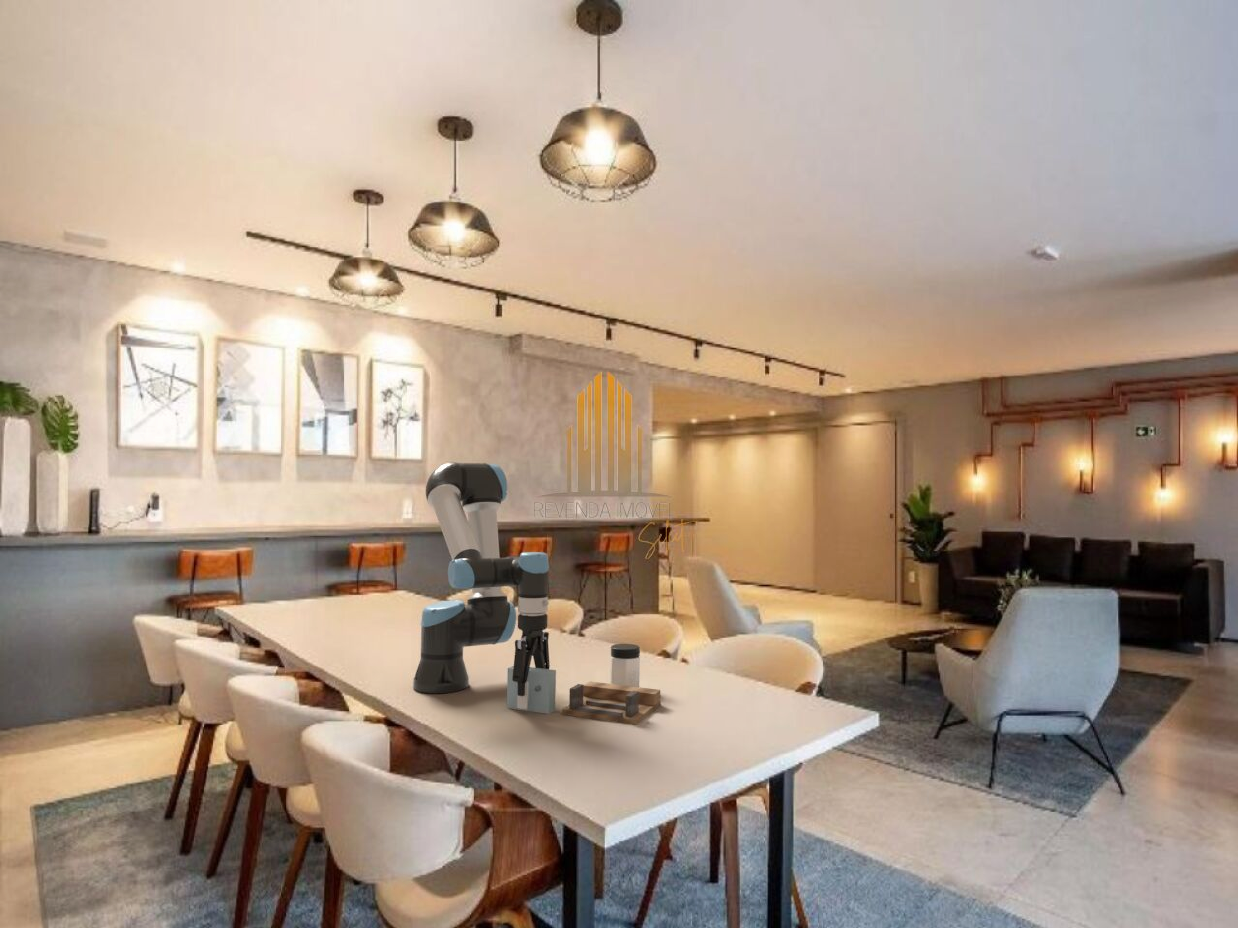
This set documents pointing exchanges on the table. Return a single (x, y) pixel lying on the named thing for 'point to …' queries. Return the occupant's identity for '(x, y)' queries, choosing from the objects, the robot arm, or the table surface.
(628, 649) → the jar
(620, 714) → the brown piece
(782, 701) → the table surface
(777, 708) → the table surface
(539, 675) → the door
